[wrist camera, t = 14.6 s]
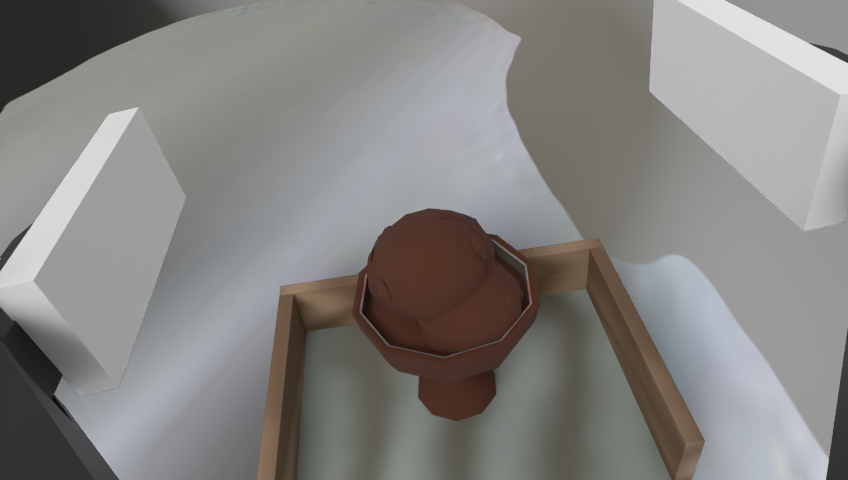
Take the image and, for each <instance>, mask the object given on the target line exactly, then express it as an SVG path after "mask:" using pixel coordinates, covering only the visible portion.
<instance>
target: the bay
mask: <svg viewBox="0 0 848 480" xmlns="http://www.w3.org/2000/svg"><path fill="white" fill-rule="evenodd" d="M517 251H518V252H520V253H521V254H522V255H524V256H525V257H526V258H528V259H529V260H530V261H532V262H533V264H534V270H535V276H536V283H537V289H538V295H539V301H540V307H539V310H538V313H537V316H536V319H535V322H534V323H533V324H532V326H531V327H530V328H529V330H528V331H527V332H526V333H525V335H524V336H523V337H522V338H521V340H520V341H519V342H518V343H517V345H516V346H515V347H514V348H513V350H512V351H511V352H510V353H509V355H508V356H507V357H506V359H505V360H504V361H503V362H502V364H501V365H500V366H499V367H498V368H496V369H492V370H493V371H494V373H495V383H496V396H495V397H494V398H493V400H492V401H491V402H490V403H489V405H488V406H487V407H486V409H485V410H484V411H483V413H481V414H478V415H475V416H472V417H469V418H465V419H462V420H459V421H454V420H450V419H447V418H443V417H439V416H435V415H432V414H431V413H430V412H429V410H428V409H427V408H426V407H425V406H424V404H423V403H422V402H421V401H420V399H419V398H418V385H419V376H415V375H411V374H407V373H402V372H399V371H398V370H396V369H395V368H393V367H392V366H391V365H390V364H389V363H388V362H387V361H386V360H385V358H384V357H383V356H382V355H381V353H380V352H379V351H378V350H377V349H376V347H375V346H374V345H373V344H372V343H371V341H370V340H369V339H368V338H367V336H366V335H365V334H364V333H363V332H362V330H361V329H360V327H359V326H358V324H357V322H356V321H355V319H354V317H353V316H352V310H353V305H354V299H355V293H356V287H357V281H358V275H359V274H358V275H352V276H345V277H339V278H332V279H325V280H319V281H312V282H306V283H299V284H292V285H286V286H281V289H280V297H279V305H278V313H277V321H276V329H275V337H274V345H273V353H272V361H271V369H270V377H269V385H268V393H267V401H266V409H265V417H264V425H263V433H262V441H261V449H260V457H259V465H258V472H257V480H691V479H692V476H693V473H694V470H695V467H696V465H697V462H698V459H699V456H700V453H701V450H702V448H703V445H704V442H705V440H704V438H703V437H702V435H701V433H700V431H699V429H698V427H697V425H696V423H695V421H694V419H693V417H692V416H691V414H690V412H689V410H688V408H687V406H686V404H685V402H684V400H683V398H682V396H681V395H680V393H679V391H678V389H677V387H676V385H675V383H674V381H673V379H672V377H671V375H670V374H669V372H668V370H667V368H666V366H665V364H664V362H663V360H662V358H661V356H660V354H659V352H658V351H657V349H656V347H655V345H654V343H653V341H652V339H651V337H650V335H649V333H648V331H647V330H646V328H645V326H644V324H643V322H642V320H641V318H640V316H639V314H638V312H637V310H636V309H635V307H634V305H633V303H632V301H631V299H630V297H629V295H628V293H627V291H626V289H625V288H624V286H623V284H622V282H621V280H620V278H619V276H618V274H617V272H616V270H615V268H614V266H613V265H612V263H611V261H610V259H609V257H608V255H607V253H606V251H605V249H604V248H603V245H602V244H601V242H600V240H599V238H596V239H590V240H583V241H576V242H570V243H563V244H556V245H550V246H543V247H537V248H530V249H523V250H517Z"/></svg>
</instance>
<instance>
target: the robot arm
mask: <svg viewBox="0 0 848 480" xmlns="http://www.w3.org/2000/svg"><path fill="white" fill-rule="evenodd" d="M651 50H652V51H651V68H650V86H649V91H650V92H651V93H652V94H653V95H654V96H655V97H657V98H658V99H659V100H660V101H661V102H662V103H663V104H664V105H665V106H666V107H667V108H669V109H670V110H671V111H672V112H673V113H674V114H675V115H676V116H677V117H678V118H680V119H681V120H682V121H683V122H684V123H685V124H686V125H687V126H688V127H689V128H691V129H692V130H693V131H694V132H695V133H696V134H697V135H698V136H699V137H700V138H702V139H703V140H704V141H705V142H706V143H707V144H708V145H709V146H710V147H711V148H713V149H714V150H715V151H716V152H717V153H718V154H719V155H720V156H721V157H722V158H723V159H725V160H726V161H727V162H728V163H729V164H730V165H731V166H732V167H734V169H736V170H737V171H738V172H739V173H740V174H741V175H742V176H743V177H744V178H746V179H747V180H748V181H749V182H750V183H751V184H752V185H753V186H754V187H755V188H756V189H758V190H759V191H760V192H761V193H762V194H763V195H764V196H765V197H766V198H767V199H769V200H770V201H771V202H772V203H773V204H774V205H775V206H776V207H777V208H778V209H780V210H781V211H782V212H783V213H784V214H785V215H786V216H787V217H788V218H789V219H791V220H792V221H793V222H794V223H795V224H796V225H797V226H798V227H799V228H801V230H803V231H808V230H813V229H817V228H821V227H826V226H830V225H834V224H839V223H843V222H844V221H845V218H846V215H847V211H848V55H846V54H844V53H842V52H840V51H838V50H836V49H833V48H829V47H824V46H820V45H815V44H811V43H807V42H804V41H803V40H801V39H799V38H797V37H795V36H793V35H791V34H789V33H787V32H785V31H783V30H781V29H779V28H777V27H775V26H774V25H772V24H770V23H768V22H765V21H764V20H762V19H760V18H758V17H756V16H754V15H752V14H750V13H748V12H746V11H744V10H742V9H740V8H738V7H736V6H734V5H732V4H730V3H728V2H726V1H725V0H654V13H653V31H652V49H651ZM185 200H186V196H185V194H184V192H183V191H182V189H181V187H180V185H179V183H178V181H177V179H176V177H175V175H174V173H173V171H172V170H171V168H170V166H169V164H168V162H167V160H166V158H165V156H164V154H163V152H162V150H161V149H160V147H159V145H158V143H157V141H156V139H155V137H154V135H153V133H152V131H151V129H150V128H149V126H148V124H147V122H146V120H145V118H144V116H143V114H142V112H141V110H140V108H139V107H137V108H133V109H129V110H124V111H120V112H116V113H111V114H109V115H108V116H107V118H106V119H105V120H104V122H103V123H102V125H101V126H100V128H99V129H98V131H97V132H96V133H95V135H94V136H93V138H92V139H91V141H90V142H89V144H88V145H87V146H86V148H85V149H84V151H83V152H82V154H81V155H80V157H79V158H78V160H77V161H76V162H75V164H74V165H73V167H72V168H71V170H70V171H69V173H68V174H67V175H66V177H65V178H64V180H63V181H62V183H61V184H60V186H59V187H58V188H57V190H56V191H55V193H54V194H53V196H52V197H51V199H50V200H49V202H48V203H47V204H46V206H45V207H44V209H43V210H42V212H41V213H40V215H39V216H38V217H37V219H36V220H35V222H34V223H33V224H31V225H30V226H29V227H28V228H27V229H25V230H24V231H23V232H22V233H21V234H19V235H18V236H17V237H16V238H15V239H14V240H12V242H11V243H10V244H9V246H8V247H7V249H6V250H5V251H4V253H3V254H2V256H1V257H0V258H1V260H0V480H119V479H118V478H117V476H116V475H115V473H114V472H113V471H112V469H111V468H110V467H109V465H108V464H107V463H106V461H105V460H104V459H103V457H102V456H101V455H100V453H99V452H98V451H97V449H96V448H95V446H94V445H93V444H92V442H91V441H90V440H89V438H88V437H87V436H86V434H85V433H84V432H83V430H82V429H81V428H80V426H79V425H78V424H77V422H76V421H75V420H74V418H73V417H72V415H71V414H70V413H69V411H68V410H67V409H66V407H65V406H64V405H63V404H62V403H61V402H60V401H59V400H58V398H57V397H56V396H55V395H54V393H55V391H56V388H57V386H58V384H59V382H60V380H61V377H63V379H64V380H65V381H66V382H67V383H68V384H69V385H70V387H71V388H72V389H73V390H74V391H75V392H76V393H77V394H78V396H79V397H81V396H85V395H89V394H94V393H98V392H103V391H107V390H111V389H116V388H119V387H120V384H121V381H122V378H123V375H124V372H125V370H126V367H127V364H128V361H129V358H130V355H131V353H132V350H133V347H134V344H135V341H136V338H137V336H138V333H139V330H140V327H141V324H142V321H143V319H144V316H145V313H146V310H147V307H148V304H149V302H150V299H151V296H152V293H153V290H154V287H155V285H156V282H157V279H158V276H159V273H160V270H161V268H162V265H163V262H164V259H165V256H166V253H167V251H168V248H169V245H170V242H171V239H172V236H173V234H174V231H175V228H176V225H177V222H178V219H179V217H180V214H181V211H182V208H183V205H184V202H185ZM826 480H848V332H847V339H846V345H845V352H844V359H843V367H842V373H841V380H840V387H839V394H838V401H837V408H836V415H835V422H834V429H833V436H832V444H831V450H830V457H829V464H828V471H827V478H826Z"/></svg>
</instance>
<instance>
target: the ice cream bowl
mask: <svg viewBox="0 0 848 480" xmlns="http://www.w3.org/2000/svg"><path fill="white" fill-rule="evenodd" d="M539 307H540V301H539V295H538V289H537V283H536V276H535V270H534V264H533V262H532V261H530V260H529V259H528V258H526V257H525V256H524V255H522V254H521V253H520V252H518V251H517V250H516V249H514V248H513V247H512V246H510V245H509V244H508V243H506V242H505V241H504V240H502V239H501V238H500V237H498V236H497V235H492V234H486V233H485V231H484V230H483V229H482V228H481V226H480V225H479V223H478V222H477V220H476V219H475V218H472V217H469V216H467V215H464V214H460V213H457V212H454V211H450V210H440V209H430V208H429V209H425V210H421V211H418V212H414V213H410V214H406V215H405V216H404V217H402V218H401V219H400V220H399V221H397V222H396V223H395V224H393V225H392V226H388V227H387V228H385V229H384V231H383V233H382V234H381V235H380V236H379V237H378V239H377V241H376V243H375V245H374V247H373V250H372V251H371V253H370V254H369V257H368V264H367V266H366V267H365V268H364V269H363V270H362V271H361V272H359V275H358V281H357V287H356V293H355V299H354V305H353V310H352V316H353V317H354V319H355V321H356V322H357V324H358V326H359V327H360V329H361V330H362V332H363V333H364V334H365V335H366V336H367V338H368V339H369V340H370V341H371V343H372V344H373V345H374V346H375V347H376V349H377V350H378V351H379V352H380V353H381V355H382V356H383V357H384V358H385V360H386V361H387V362H388V363H389V364H390V365H391V366H392V367H393V368H395V369H396V370H398V371H399V372H402V373H407V374H411V375H415V376H419V385H418V398H419V399H420V401H421V402H422V403H423V404H424V406H425V407H426V408H427V409H428V410H429V412H430V413H431V414H432V415H435V416H439V417H443V418H447V419H450V420H454V421H459V420H462V419H465V418H469V417H472V416H475V415H478V414H481V413H483V411H484V410H485V409H486V407H487V406H488V405H489V403H490V402H491V401H492V400H493V398H494V397H495V396H496V383H495V373H494V371H493V370H492V369H496V368H498V367H499V366H500V365H501V364H502V362H503V361H504V360H505V359H506V357H507V356H508V355H509V353H510V352H511V351H512V350H513V348H514V347H515V346H516V345H517V343H518V342H519V341H520V340H521V338H522V337H523V336H524V335H525V333H526V332H527V331H528V330H529V328H530V327H531V326H532V324H533V323H534V322H535V319H536V316H537V313H538V310H539Z"/></svg>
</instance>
